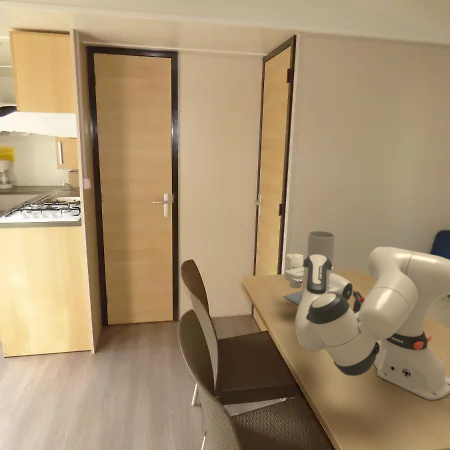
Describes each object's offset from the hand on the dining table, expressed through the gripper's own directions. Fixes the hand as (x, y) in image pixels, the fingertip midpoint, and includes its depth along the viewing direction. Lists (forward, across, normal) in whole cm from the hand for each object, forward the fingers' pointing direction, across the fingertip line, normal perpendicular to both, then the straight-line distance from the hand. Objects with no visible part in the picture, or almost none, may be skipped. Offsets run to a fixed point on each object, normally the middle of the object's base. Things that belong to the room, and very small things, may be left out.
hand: (295, 267), depth 158 cm
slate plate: (-1, +10, -17) cm, 20 cm away
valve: (-18, +28, -18) cm, 37 cm away
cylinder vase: (+14, +28, -17) cm, 35 cm away
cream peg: (+1, 0, -8) cm, 8 cm away
